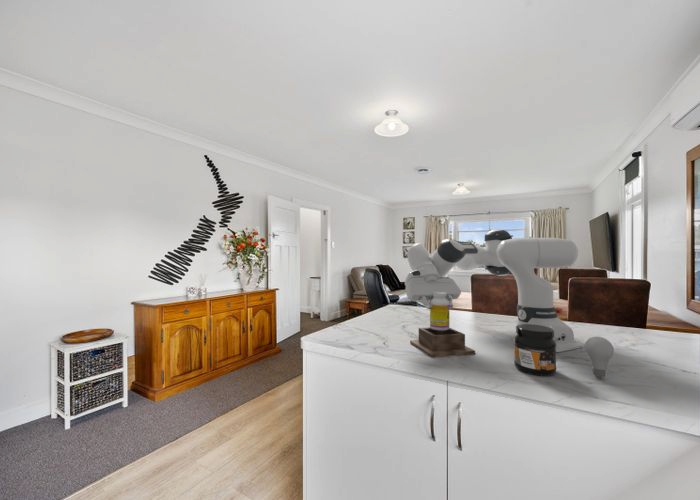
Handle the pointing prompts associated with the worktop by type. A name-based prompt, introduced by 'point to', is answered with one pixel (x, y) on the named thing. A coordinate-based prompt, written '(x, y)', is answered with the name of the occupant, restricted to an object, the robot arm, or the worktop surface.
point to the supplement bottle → (439, 312)
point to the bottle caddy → (441, 343)
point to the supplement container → (535, 349)
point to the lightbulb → (599, 354)
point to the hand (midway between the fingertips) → (440, 308)
